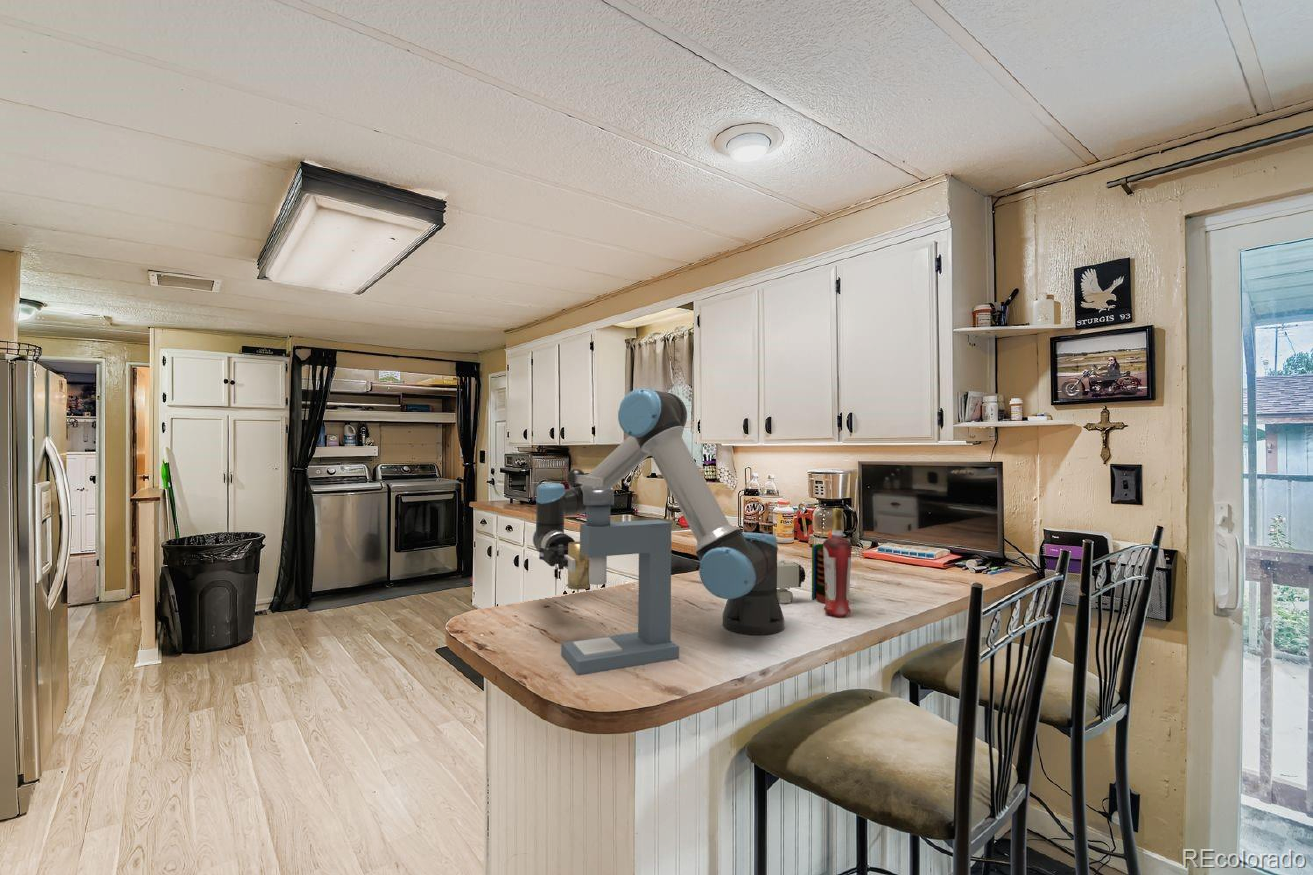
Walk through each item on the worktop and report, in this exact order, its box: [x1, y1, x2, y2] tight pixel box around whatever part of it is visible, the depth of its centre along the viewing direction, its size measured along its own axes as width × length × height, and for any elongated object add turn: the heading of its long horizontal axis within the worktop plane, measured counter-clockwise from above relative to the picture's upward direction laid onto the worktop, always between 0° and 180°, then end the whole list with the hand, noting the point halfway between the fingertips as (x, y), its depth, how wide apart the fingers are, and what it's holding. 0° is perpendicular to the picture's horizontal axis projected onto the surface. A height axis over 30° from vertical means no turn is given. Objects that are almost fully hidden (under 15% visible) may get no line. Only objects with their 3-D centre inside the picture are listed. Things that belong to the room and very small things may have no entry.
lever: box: [566, 468, 615, 506], centre depth 128 cm, size 6×21×7 cm, turn 25°
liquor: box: [822, 508, 853, 618], centre depth 155 cm, size 7×7×28 cm
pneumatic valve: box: [777, 559, 806, 605], centre depth 167 cm, size 6×12×12 cm, turn 100°
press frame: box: [560, 505, 680, 676], centre depth 123 cm, size 22×12×32 cm, turn 115°
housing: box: [567, 540, 591, 591], centre depth 134 cm, size 5×5×10 cm
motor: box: [811, 529, 832, 605], centre depth 169 cm, size 10×9×20 cm
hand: (586, 565), depth 129 cm, fingers closed on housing, 5 cm apart
